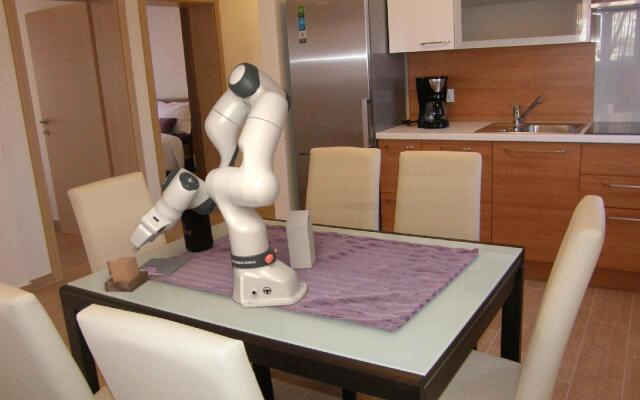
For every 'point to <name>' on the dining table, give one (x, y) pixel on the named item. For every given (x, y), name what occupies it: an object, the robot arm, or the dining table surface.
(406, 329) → the dining table surface
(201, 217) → the coffee jar
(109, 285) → the tray
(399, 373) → the dining table surface
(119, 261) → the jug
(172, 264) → the mat
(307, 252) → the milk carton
